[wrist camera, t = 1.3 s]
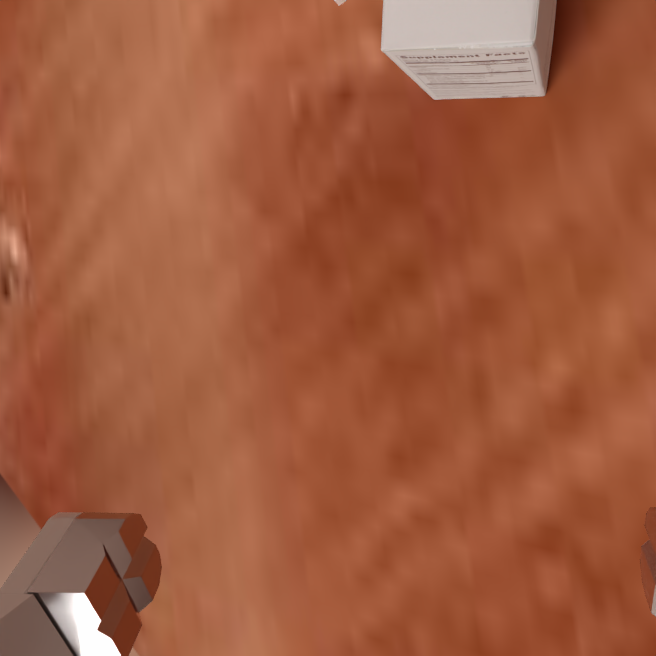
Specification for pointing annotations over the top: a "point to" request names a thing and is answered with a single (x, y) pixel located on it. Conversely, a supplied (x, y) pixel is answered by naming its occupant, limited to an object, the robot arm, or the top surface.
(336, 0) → the frame
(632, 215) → the top surface
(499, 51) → the supplement box
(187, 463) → the top surface
